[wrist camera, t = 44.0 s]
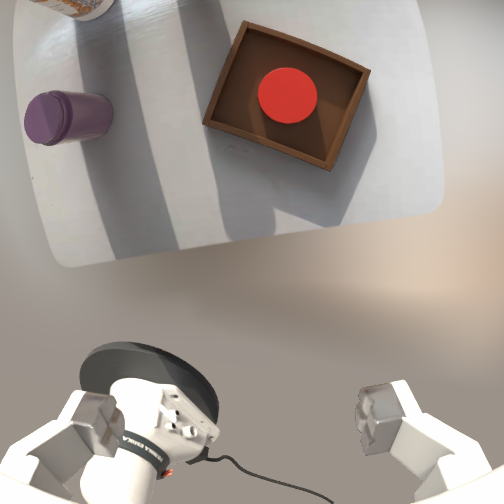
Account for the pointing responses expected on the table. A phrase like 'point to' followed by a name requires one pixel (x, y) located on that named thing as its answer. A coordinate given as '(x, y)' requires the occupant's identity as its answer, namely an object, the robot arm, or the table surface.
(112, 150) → the table surface
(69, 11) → the bath foam
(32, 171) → the table surface
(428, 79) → the table surface
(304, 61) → the tray
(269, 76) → the lid
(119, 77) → the table surface
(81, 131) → the jar
